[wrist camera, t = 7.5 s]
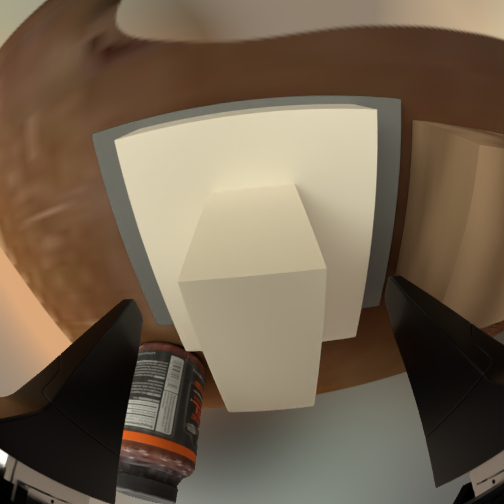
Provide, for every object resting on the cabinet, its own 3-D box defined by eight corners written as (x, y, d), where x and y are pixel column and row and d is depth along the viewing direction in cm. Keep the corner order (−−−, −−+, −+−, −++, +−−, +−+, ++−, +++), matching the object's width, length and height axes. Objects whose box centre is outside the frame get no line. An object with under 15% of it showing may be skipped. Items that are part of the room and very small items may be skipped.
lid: (353, 104, 10) (471, 140, 4) (345, 305, 16) (379, 418, 10) (138, 129, 11) (23, 192, 4) (192, 319, 17) (171, 433, 10)
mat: (394, 98, 10) (400, 99, 10) (375, 299, 17) (379, 305, 16) (97, 132, 11) (91, 134, 11) (159, 318, 18) (157, 324, 17)
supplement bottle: (208, 385, 22) (197, 510, 13) (142, 377, 22) (115, 493, 12) (204, 342, 19) (183, 502, 9) (125, 333, 19) (79, 475, 9)
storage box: (509, 135, 10) (566, 164, 6) (480, 270, 16) (515, 315, 12) (412, 120, 11) (479, 144, 7) (392, 285, 16) (423, 345, 12)
